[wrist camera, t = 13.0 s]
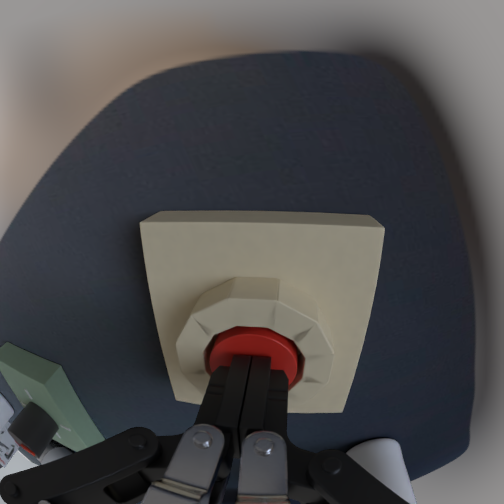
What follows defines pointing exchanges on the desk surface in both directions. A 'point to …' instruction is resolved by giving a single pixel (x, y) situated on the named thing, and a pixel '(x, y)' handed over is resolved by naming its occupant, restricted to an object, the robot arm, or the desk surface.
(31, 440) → the dial knob
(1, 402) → the can
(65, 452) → the spotlight
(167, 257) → the switch housing
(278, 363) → the stop button
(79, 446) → the dial panel
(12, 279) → the desk surface
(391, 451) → the drinking glass
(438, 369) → the desk surface
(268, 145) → the desk surface
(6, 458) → the ink box
